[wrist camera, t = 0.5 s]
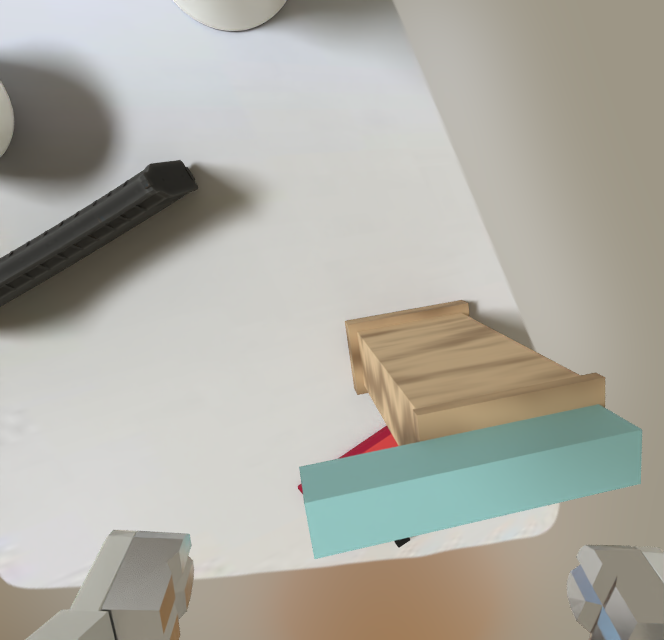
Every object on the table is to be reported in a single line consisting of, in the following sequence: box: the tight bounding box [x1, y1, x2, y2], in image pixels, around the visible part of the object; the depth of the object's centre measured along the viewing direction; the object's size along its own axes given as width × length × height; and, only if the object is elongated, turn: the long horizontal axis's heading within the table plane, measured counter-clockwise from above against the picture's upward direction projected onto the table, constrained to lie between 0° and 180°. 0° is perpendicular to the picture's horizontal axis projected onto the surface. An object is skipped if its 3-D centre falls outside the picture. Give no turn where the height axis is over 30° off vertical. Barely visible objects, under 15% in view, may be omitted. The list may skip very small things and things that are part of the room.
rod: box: [299, 404, 642, 559], centre depth 31 cm, size 4×22×4 cm, turn 98°
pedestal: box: [345, 300, 605, 446], centre depth 46 cm, size 9×15×26 cm, turn 98°
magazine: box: [0, 160, 198, 306], centre depth 45 cm, size 17×3×30 cm
